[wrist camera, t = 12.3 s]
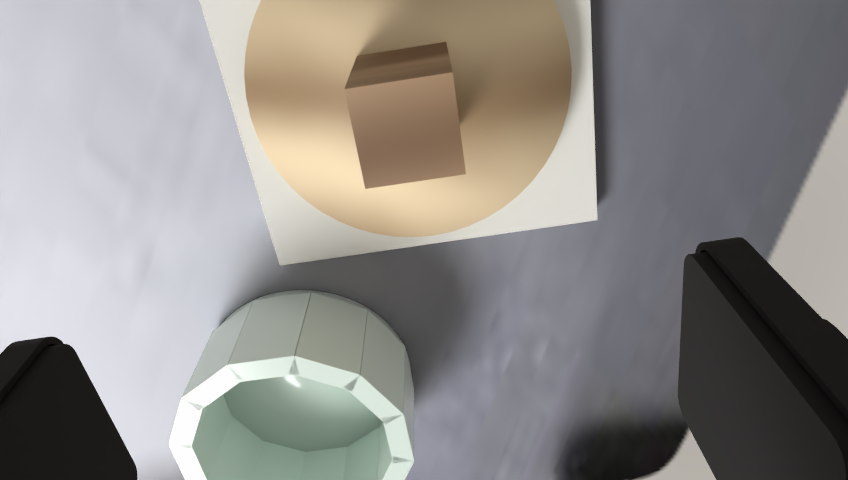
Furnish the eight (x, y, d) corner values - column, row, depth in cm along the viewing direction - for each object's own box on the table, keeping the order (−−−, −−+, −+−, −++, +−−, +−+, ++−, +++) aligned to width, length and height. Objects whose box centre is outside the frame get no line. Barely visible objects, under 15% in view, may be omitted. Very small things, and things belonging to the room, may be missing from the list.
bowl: (178, 305, 32) (137, 376, 28) (391, 275, 32) (387, 343, 27) (240, 460, 38) (214, 543, 33) (425, 437, 37) (427, 518, 32)
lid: (208, -59, 24) (148, -47, 18) (557, -119, 23) (600, -126, 18) (294, 244, 30) (267, 319, 24) (573, 205, 29) (608, 273, 24)
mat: (182, -86, 24) (173, -86, 23) (578, -157, 23) (585, -159, 22) (283, 255, 31) (279, 265, 30) (592, 210, 30) (597, 220, 29)
